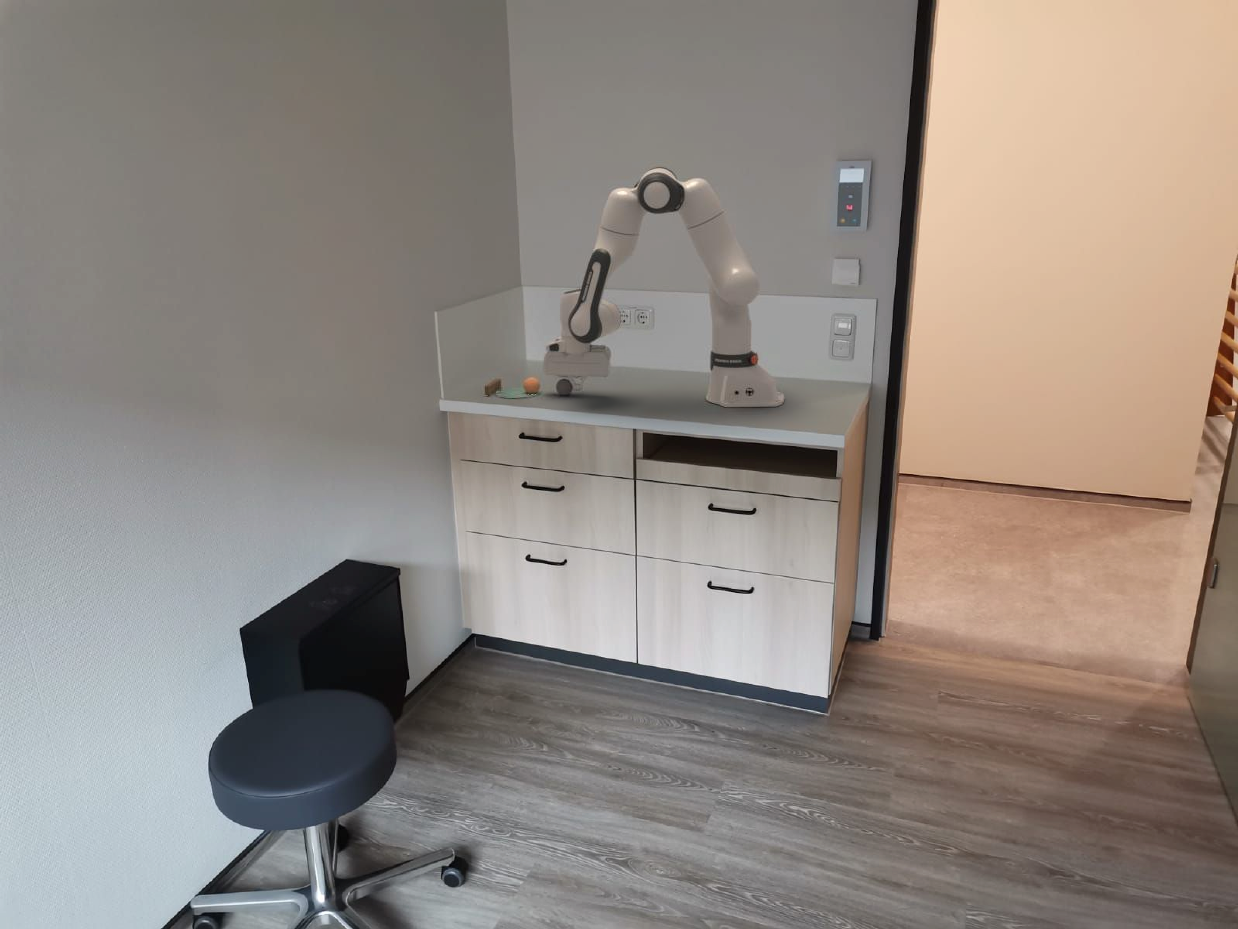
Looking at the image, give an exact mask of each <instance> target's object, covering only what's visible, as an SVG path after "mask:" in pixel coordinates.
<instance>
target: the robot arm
mask: <svg viewBox="0 0 1238 929" xmlns="http://www.w3.org/2000/svg"><path fill="white" fill-rule="evenodd" d="M676 212H678V214H679V215H680V217H681V219H682V221H683V223H684V226H685V227H686V228H685V229H686V230H687V232H688V235H689V237H690V239H691V241H692V243H693V246H694V249H695V250H696V252H697V255H698V256H699V258H700V259H701V261H702V263H703V265H704V267H705V269H706V271H707V272H708V275H707V284H708V296H709V297H708V298H709V307H710V313H711V325H712V326H711V327H712V328H711V329H712V333H711V334H712V335H711V338H712V339H711V345H712V346H711V347H712V348H711V349H712V350H711V351H710V355H709V368H710V369H709V370H710V378H709V379H710V380H709V386H708V390H707V394H706V397H705V399H706V401H707V402H710V403H713V404H716V405H719V406H722V407H725V408H752V407H753V408H755V407H756V408H757V407H759V408H760V407H761V408H762V407H765V408H766V407H771V408H772V407H779V406H781V405H783V403H784V402H785V395H784V394H783V392H780V391H778V388H777V382H776V379H775V377H774V376H773V375H772V374H770V372H768V371H766V369H764V368H763V367H761V365H759V364H758V363H759V355H758V352H755V351H753V350H752V320H751V316H750V310H749V304H751V303H752V302H754V300H755V299H756V298H757V296H758V295H759V292H760V281H759V279H758V277H757V275H756V272H755V271H754V269H753V267H752V265H751V263H750V262H749V259H748V258H747V256H746V254H745V252H744V250H743V248H742V247H741V244H740V243H739V241H738V240H737V238H736V236H735V234H734V231H733V229H732V226H731V225H730V222H729V220H728V217H727V215H726V212H725V210H724V207H723V205H722V204H721V202H720V199H719V197H718V196H717V195H716V193H715V190H714V189H713V188H712V186H711V185H710V183H709V182H708V181H707V180H706V179H703V178H700V177H696V178H691V179H689V180H686V181H680V180H678V177H677V175H676V174H675V173H674V172H673V171H672V170H671V169H669V168H667V167H663V166H656V167H653V168H650V169H649V170H648V171H646V172H645V173H644V174H643V175H642V176H641V178H640V180H638V181H637V183H636V184H635V185H634V187H633V188H629V187H618V188H615V189H614V190H612V191H611V192H610V194H609V195H608V197H607V200H606V203H605V205H604V209H603V212H602V215H601V220H600V224H599V227H598V228H599V229H598V234H597V237H596V242H595V246H594V248H593V251H592V254H591V256H590V258H589V261H588V264H587V267H586V270H585V274H584V278H583V281H582V284H581V288H576V289H572V290H568V291H565V292H564V293H563V294H562V295H561V299H560V303H559V304H560V305H559V307H560V309H559V316H560V317H559V318H560V319H559V320H560V323H561V332H560V337H561V339H557V338H556V339H554V340H552V341H549V342H548V343H547V344H546V345H545V351H546V353H545V354H544V356H543V365H542V368H543V372H544V373H543V374H545V375H546V376H558V375H561V376H560V377H568V378H567V379H568V380H569V381H570V382H571V384H572V388H573V389H572V391H579V392H580V391H584V384H585V382H586V380H587V377H594V378H595V377H596V378H598V377H599V378H607V377H608V376H609V375H611V373H612V365H611V364H612V363H611V360H610V359H611V357H612V352H611V349H610V348H609V347H608V346H606V345H605V344H601V345H599V344H592V343H593V342H595V341H596V340H599V339H601V338H603V337H606V336H607V335H611V334H612V333H614V332H616V331H617V330H618V329H619V327H620V325H621V323H622V314H621V312H620V309H619V308H618V306H617V305H616V304H614V303H613V302H611V301H606V300H604V299H603V297H604V293H605V289H606V286H607V283H608V280H609V278H610V277H611V276H612V274H613V273H615V271H616V270H617V269H618V268H619V267H621V266H622V265H623V264H625V263H626V262H627V261H628V260H629V259H630V258H632V256H633V255H634V252H635V250H636V247H637V244H638V241H639V237H640V231H641V227H642V222H643V218H644V217H645V215H646V214H647V213H651V214H655V215H661V214H663V215H664V214H667V213H668V214H669V213H676ZM575 376H579V378H580V380H581V381H580V383H577V382H576V380H575V378H576V377H575Z"/></svg>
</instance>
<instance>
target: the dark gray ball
mask: <svg viewBox="0 0 1238 929" xmlns="http://www.w3.org/2000/svg"><path fill="white" fill-rule="evenodd" d="M555 388H556V392H557V393H558V394H559V395H561V396H569V395H570V394H571V393H572V391H573V388H572V384H571V382H570V381H569V379H568V378H561V379H559V380H558V381H557V383H556V385H555Z"/></svg>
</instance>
